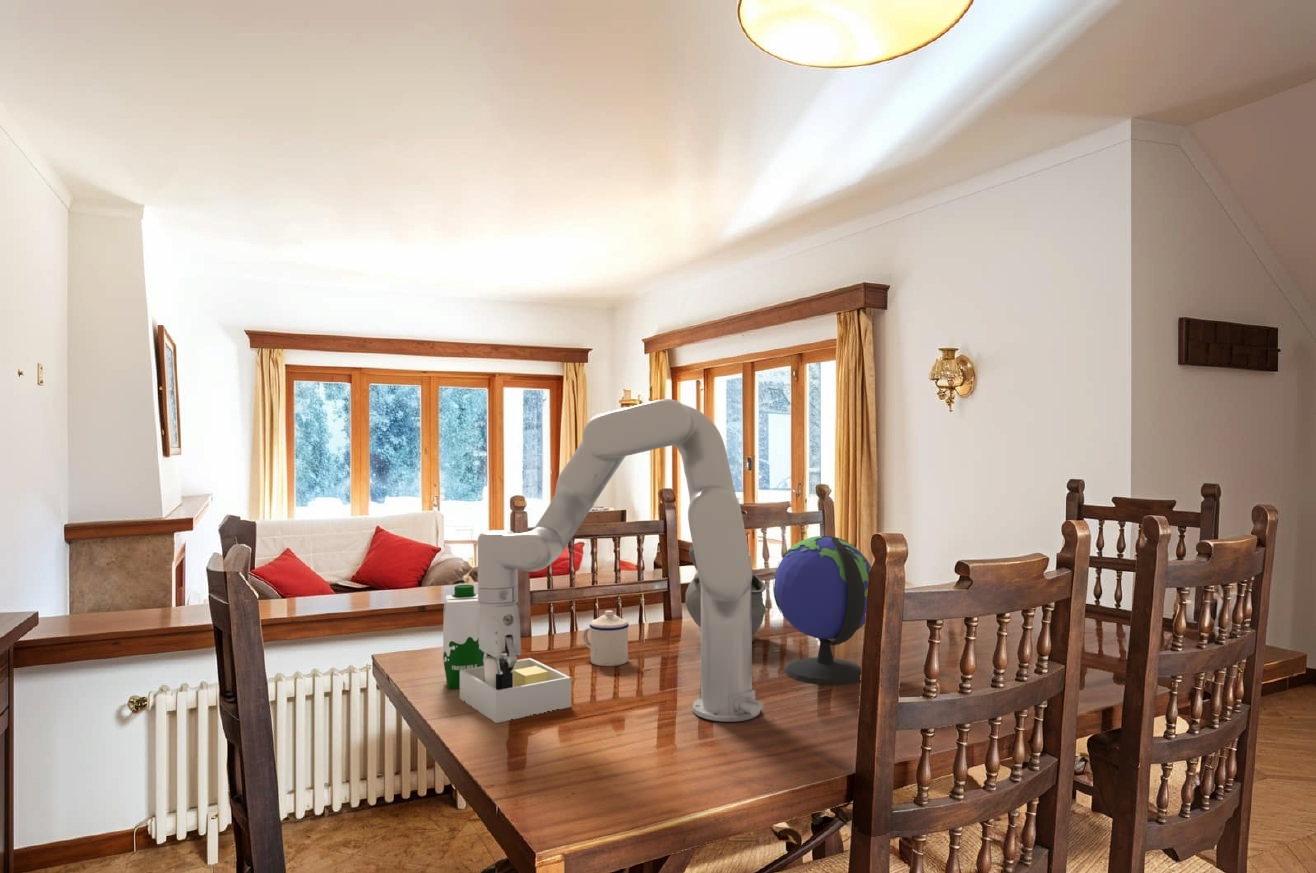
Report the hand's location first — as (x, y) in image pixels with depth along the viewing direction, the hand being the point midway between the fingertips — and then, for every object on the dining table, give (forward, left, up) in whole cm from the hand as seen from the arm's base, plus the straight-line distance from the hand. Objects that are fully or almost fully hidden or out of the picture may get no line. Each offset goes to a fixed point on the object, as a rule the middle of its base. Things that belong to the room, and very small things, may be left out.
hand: (498, 689), depth 154 cm
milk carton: (+18, 0, -3) cm, 18 cm away
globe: (-21, -67, -3) cm, 71 cm away
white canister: (0, 0, -1) cm, 1 cm away
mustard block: (0, -7, -3) cm, 7 cm away
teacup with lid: (+16, -33, -3) cm, 37 cm away
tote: (0, -3, -3) cm, 5 cm away
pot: (+14, -68, -3) cm, 70 cm away
